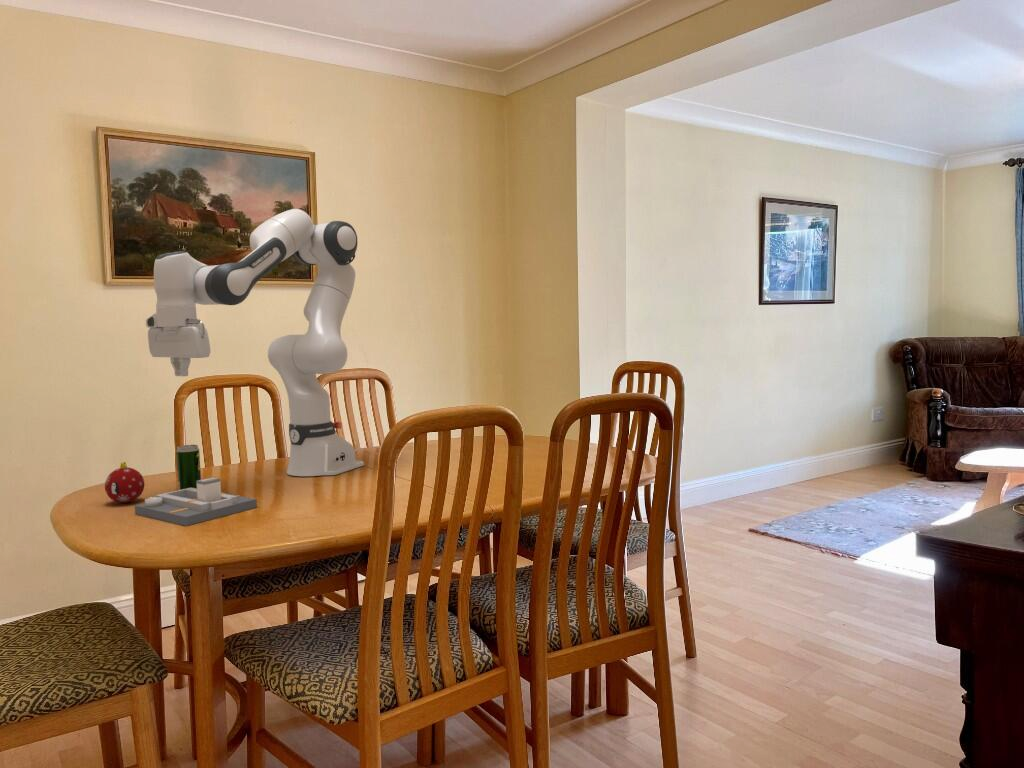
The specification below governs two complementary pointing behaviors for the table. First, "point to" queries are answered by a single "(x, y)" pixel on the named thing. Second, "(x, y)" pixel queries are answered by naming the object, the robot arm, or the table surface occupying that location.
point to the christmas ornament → (124, 484)
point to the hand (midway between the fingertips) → (181, 376)
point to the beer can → (188, 466)
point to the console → (192, 507)
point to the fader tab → (209, 490)
